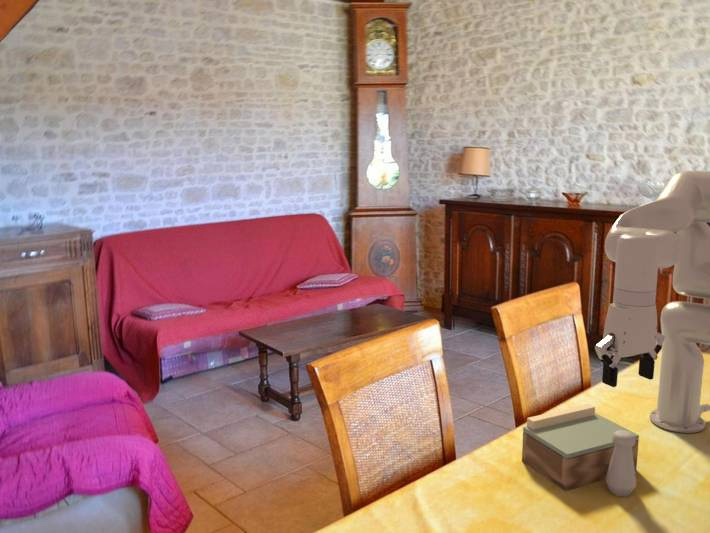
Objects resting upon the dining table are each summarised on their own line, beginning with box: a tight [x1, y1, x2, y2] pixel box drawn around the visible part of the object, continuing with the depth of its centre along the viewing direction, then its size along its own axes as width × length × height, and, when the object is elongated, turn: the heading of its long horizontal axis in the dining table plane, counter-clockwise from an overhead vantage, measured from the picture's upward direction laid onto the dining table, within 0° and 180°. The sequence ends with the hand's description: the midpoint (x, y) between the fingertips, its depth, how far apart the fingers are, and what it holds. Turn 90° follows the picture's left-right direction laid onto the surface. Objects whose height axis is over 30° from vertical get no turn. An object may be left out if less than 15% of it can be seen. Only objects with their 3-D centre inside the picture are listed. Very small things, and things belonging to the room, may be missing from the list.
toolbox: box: [521, 431, 640, 492], centre depth 142 cm, size 20×14×7 cm
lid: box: [522, 403, 640, 459], centre depth 141 cm, size 20×14×3 cm
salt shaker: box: [605, 430, 637, 498], centre depth 131 cm, size 6×6×13 cm
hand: (627, 381), depth 127 cm, fingers open, 9 cm apart
